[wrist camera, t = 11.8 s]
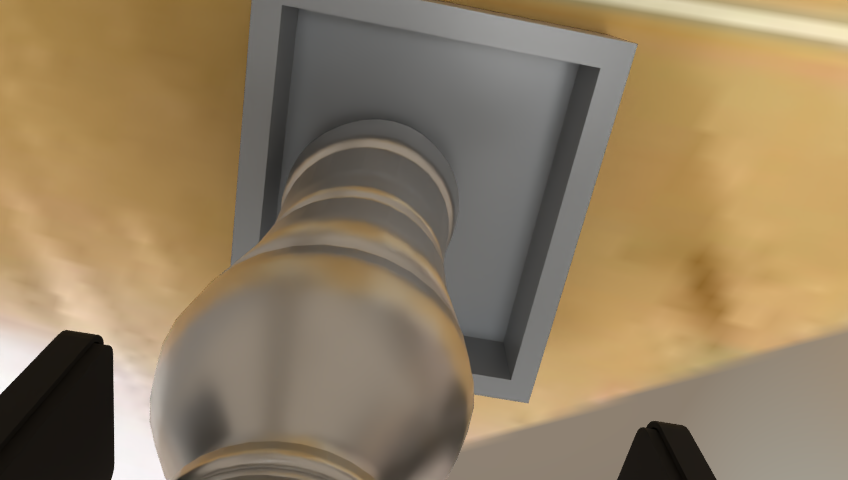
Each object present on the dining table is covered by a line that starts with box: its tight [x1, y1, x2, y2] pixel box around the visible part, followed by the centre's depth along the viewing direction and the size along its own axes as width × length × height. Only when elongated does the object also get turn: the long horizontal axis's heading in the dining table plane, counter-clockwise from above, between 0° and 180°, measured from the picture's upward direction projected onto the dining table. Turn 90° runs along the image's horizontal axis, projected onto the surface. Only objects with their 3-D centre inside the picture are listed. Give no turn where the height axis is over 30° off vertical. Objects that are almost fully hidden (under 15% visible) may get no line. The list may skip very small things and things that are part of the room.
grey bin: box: [231, 0, 638, 403], centre depth 26 cm, size 15×13×4 cm
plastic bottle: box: [150, 119, 474, 480], centre depth 17 cm, size 6×7×20 cm
